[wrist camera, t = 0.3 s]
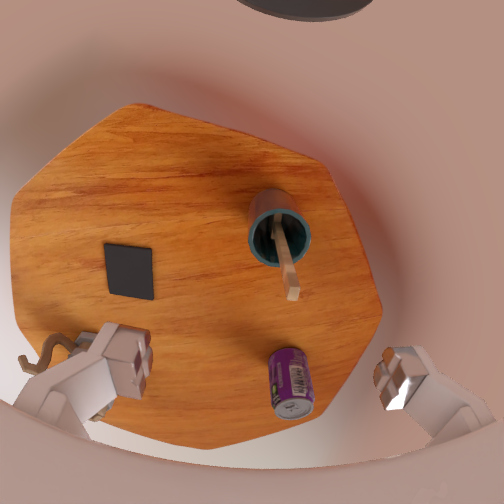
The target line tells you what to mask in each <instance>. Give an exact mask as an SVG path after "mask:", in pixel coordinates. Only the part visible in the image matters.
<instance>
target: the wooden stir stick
mask: <svg viewBox="0 0 504 504" xmlns="http://www.w3.org/2000/svg"><path fill="white" fill-rule="evenodd" d="M281 219H282V213H276V214H273V215H270V216H269V223H268V226H269V231H270V237H271V239H275V244H276V249H277V253H278V258H279V263H280V268H281V273H282V278H283V283H284V288H285V293H286V298H287V300H293V301H297V299H298V295H299V291H300V285H299V281H298V278H297V274H296V271H295V268H294V264H293V261H292V258H291V254H290V251H289V248H288V244H287V241H286V238H285V235H284V231H283V228H282V225H281Z"/></svg>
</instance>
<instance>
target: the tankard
mask: <svg viewBox="0 0 504 504" xmlns="http://www.w3.org/2000/svg"><path fill="white" fill-rule="evenodd" d="M97 335H98V334H96V333H89V332H83V331H82V332H81V334H80V335H79V336H78V338H77V339H76V340H75V342H73V341H72V340H70V339H69V338H68V337H66V336H65V335H63V334H62V333H60V332H59V333H55V334H52V335H49V337H48V338H47V339H46V340H45V341H44V343H43V348H42V353H41V357H40V359H39V361H38V363H37V365H35V364H31V363H28V360H27V358H26V356H25V355H21V356H19V357H18V361H19V363H20V365H21V367H22V370H23V372H27V373H29V374H33V375H35V376H36V375H38V374H40V373H41V372H43V371H45V370H46V369H47V367H48V365H49V363H50V361H51V356H52V350H53V347H54V346H55V345H57V344H61V345H63V346H64V347H65V348H66V349H67V350H68V351H69V352H70V353H71V354H69V355H68V359H69V358H71V357H73V356H75V355H77V354H79V353H81V352H87V351H88V349H89V348H90V346H91V344H92V343H93V341H94V339H95V338H96V336H97ZM113 403H114V399H113V400H112V401H111V402H110V403H108V404H107V405H106V406H105V407H104V408H102V409H101V410H100V411H99V412H97V413H96V414H95V415H94V416H92V417H91V418H90V419H88V420H90V421H94V422H95V421H99V420H100V419H102V418H103V417H104V416H105V413H106V411H108V410H109V409H111V408H112V405H113Z"/></svg>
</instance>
